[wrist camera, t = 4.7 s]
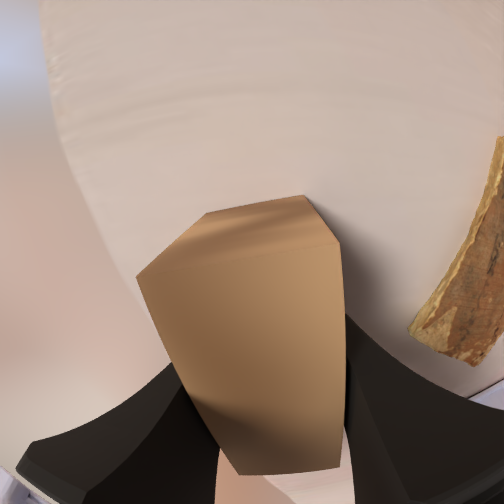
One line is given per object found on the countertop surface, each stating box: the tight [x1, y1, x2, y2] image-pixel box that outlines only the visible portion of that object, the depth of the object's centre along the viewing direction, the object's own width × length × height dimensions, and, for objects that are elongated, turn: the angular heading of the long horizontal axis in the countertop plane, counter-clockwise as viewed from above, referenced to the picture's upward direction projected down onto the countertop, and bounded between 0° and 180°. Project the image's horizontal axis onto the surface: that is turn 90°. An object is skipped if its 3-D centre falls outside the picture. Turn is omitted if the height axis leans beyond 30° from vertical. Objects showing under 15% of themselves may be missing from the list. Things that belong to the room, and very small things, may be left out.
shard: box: [408, 136, 504, 367], centre depth 9 cm, size 11×8×2 cm
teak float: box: [136, 195, 346, 475], centre depth 8 cm, size 4×8×6 cm, turn 12°
